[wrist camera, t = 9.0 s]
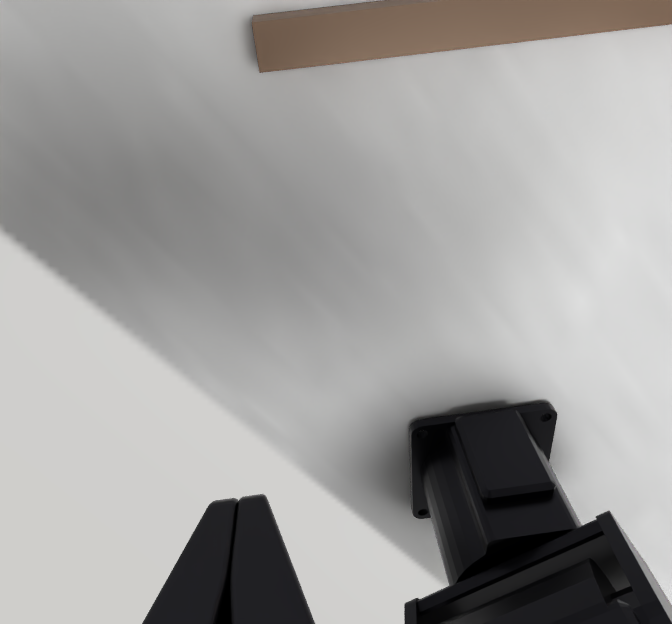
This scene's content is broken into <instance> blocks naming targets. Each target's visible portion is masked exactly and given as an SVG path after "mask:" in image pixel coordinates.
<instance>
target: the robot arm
mask: <svg viewBox="0 0 672 624" xmlns="http://www.w3.org/2000/svg"><path fill="white" fill-rule="evenodd" d="M543 414H544V415H543ZM556 420H557V412H556V411H555V409H554V407H553V406H552V405H551V404H549V403H540V404H532V405H525V406H518V407H510V408H503V409H495V410H488V411H481V412H473V413H466V414H458V415H451V416H443V417H436V418H429V419H421V420H417V421H415V422H413V423H412V424H411V425H410V428H409V438H410V477H411V508H412V512H413V515H414V517H416V518H419V519H424V518H431V519H432V523H433V527H434V530H435V534H436V538H437V541H438V545H439V549H440V552H441V556H442V560H443V563H444V567H445V571H446V575H447V578H448V582H449V586H448V587H446V588H444V589H441V590H439V591H437V592H435V593H433V594H431V595H429V596H426V597H424V598H422V599H418V598H415V599H413V600H411V601H409V602H407V603H405V624H672V605H671V604H670V602H669V600H668V599H667V597H666V595H665V594H664V592H663V590H662V589H661V587H660V585H659V584H658V582H657V581H656V579H655V577H654V576H653V574H652V572H651V571H650V569H649V567H648V566H647V564H646V563H645V561H644V560H643V558H642V557H641V555H640V554H639V553H638V551H637V550H636V548H635V547H634V545H633V544H632V542H631V541H630V540H629V538H628V537H627V535H626V534H625V532H624V531H623V529H622V528H621V527H620V525H619V524H618V522H617V521H616V519H615V518H614V516H613V515H612V514H611V512H610V511H607V512H605V513H603V514H600V515H598V516H596V520H594V521H592V522H589V523H587V524H585V525H583V526H582V525H581V523H580V521H579V519H578V517H577V516H576V514H575V512H574V510H573V508H572V506H571V504H570V502H569V500H568V498H567V496H566V495H565V493H564V491H563V489H562V487H561V485H560V483H559V481H558V479H557V477H556V475H555V474H554V472H553V470H552V468H551V466H550V464H549V458H550V453H551V447H552V442H553V436H554V431H555V425H556ZM421 430H424V431H421ZM419 431H421V432H419ZM142 624H315V623H314V620H313V618H312V615H311V612H310V609H309V607H308V604H307V601H306V599H305V597H304V594H303V591H302V589H301V586H300V583H299V581H298V578H297V575H296V573H295V570H294V568H293V565H292V563H291V560H290V557H289V554H288V552H287V549H286V547H285V544H284V542H283V539H282V536H281V534H280V531H279V529H278V526H277V523H276V520H275V518H274V515H273V513H272V510H271V507H270V505H269V502H268V500H267V497H266V496H265V495H263V494H260V495H252V496H245V497H242V498H241V499H240V500H239V501H238V499H235V498H232V499H223V500H216V501H213V502H212V503H211V504H210V505H209V506H208V508H207V509H206V511H205V513H204V515H203V517H202V519H201V520H200V522H199V524H198V525H197V527H196V529H195V531H194V532H193V534H192V536H191V538H190V540H189V542H188V543H187V545H186V547H185V549H184V550H183V552H182V554H181V556H180V557H179V559H178V561H177V563H176V564H175V566H174V568H173V570H172V572H171V573H170V575H169V577H168V579H167V581H166V582H165V584H164V586H163V588H162V589H161V591H160V593H159V595H158V597H157V598H156V600H155V602H154V604H153V606H152V607H151V609H150V611H149V613H148V614H147V616H146V618H145V620H144V621H143V623H142Z"/></svg>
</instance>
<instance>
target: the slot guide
mask: <svg viewBox="0 0 672 624" xmlns="http://www.w3.org/2000/svg"><path fill="white" fill-rule="evenodd" d="M669 24H672V0H383V1H375V2H366V3H357V4H349V5H340V6H331V7H323V8H314V9H305V10H297V11H288V12H279V13H271V14H262V15H253V19H252V28H253V34H254V40H255V47H256V53H257V59H258V66H259V72H260V73H262V72H271V71H279V70H288V69H296V68H305V67H313V66H322V65H330V64H339V63H347V62H355V61H364V60H372V59H381V58H389V57H398V56H406V55H415V54H423V53H432V52H440V51H449V50H457V49H466V48H474V47H483V46H491V45H500V44H508V43H517V42H525V41H534V40H542V39H551V38H559V37H568V36H576V35H584V34H593V33H601V32H610V31H618V30H627V29H635V28H644V27H652V26H661V25H669Z"/></svg>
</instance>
